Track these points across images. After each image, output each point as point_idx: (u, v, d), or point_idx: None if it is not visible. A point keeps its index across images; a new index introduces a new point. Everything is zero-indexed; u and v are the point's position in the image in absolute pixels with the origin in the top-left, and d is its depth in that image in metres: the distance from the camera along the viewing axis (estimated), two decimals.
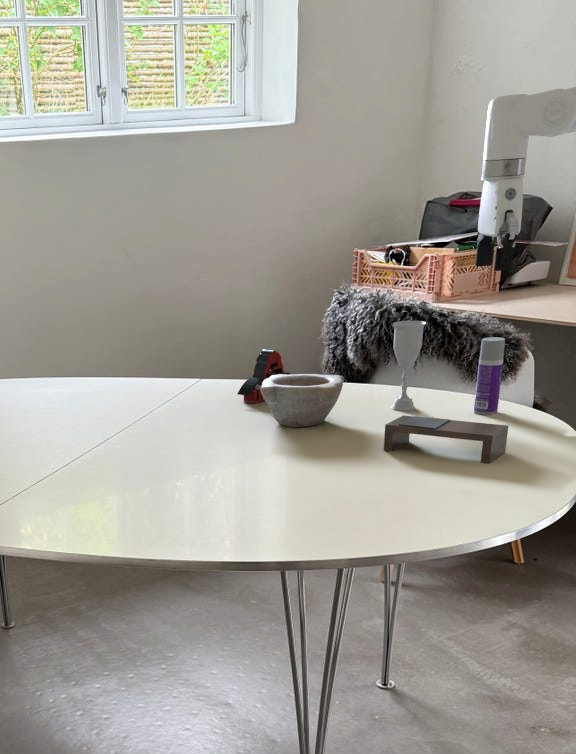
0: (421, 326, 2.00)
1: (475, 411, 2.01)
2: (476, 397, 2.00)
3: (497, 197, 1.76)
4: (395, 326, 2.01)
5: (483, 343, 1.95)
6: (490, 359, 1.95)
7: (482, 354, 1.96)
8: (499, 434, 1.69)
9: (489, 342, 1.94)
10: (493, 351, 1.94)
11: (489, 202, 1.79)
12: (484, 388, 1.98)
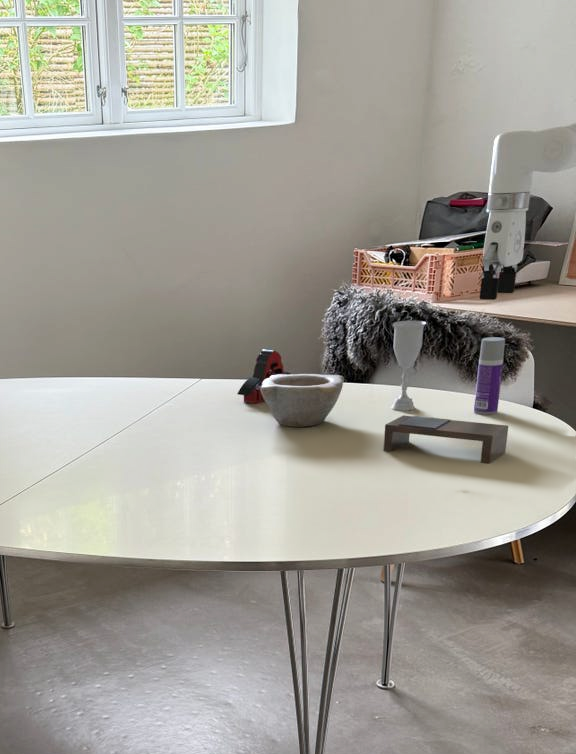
0: (421, 326, 2.00)
1: (475, 411, 2.01)
2: (476, 397, 2.00)
3: None
4: (395, 326, 2.01)
5: (483, 343, 1.95)
6: (490, 359, 1.95)
7: (482, 354, 1.96)
8: (499, 434, 1.69)
9: (489, 342, 1.94)
10: (493, 351, 1.94)
11: None
12: (484, 388, 1.98)
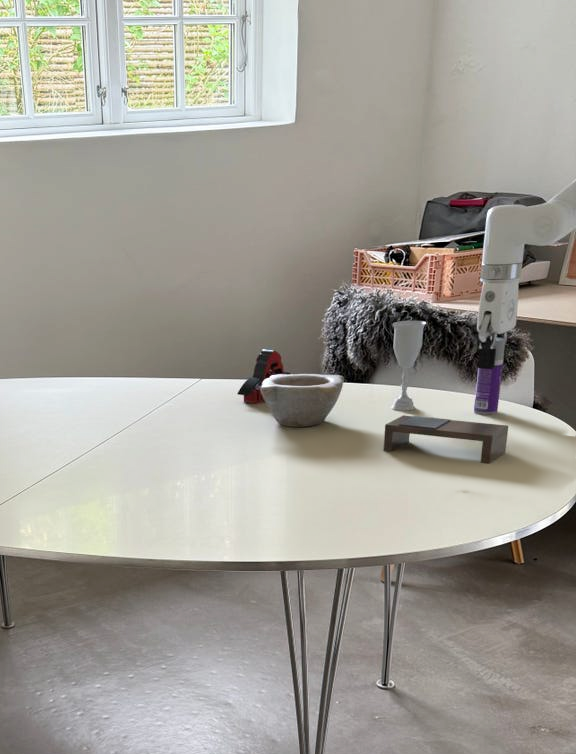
0: (421, 326, 2.00)
1: (475, 411, 2.01)
2: (476, 397, 2.00)
3: (480, 298, 1.90)
4: (395, 326, 2.01)
5: None
6: None
7: None
8: (499, 434, 1.69)
9: None
10: None
11: None
12: (484, 388, 1.98)
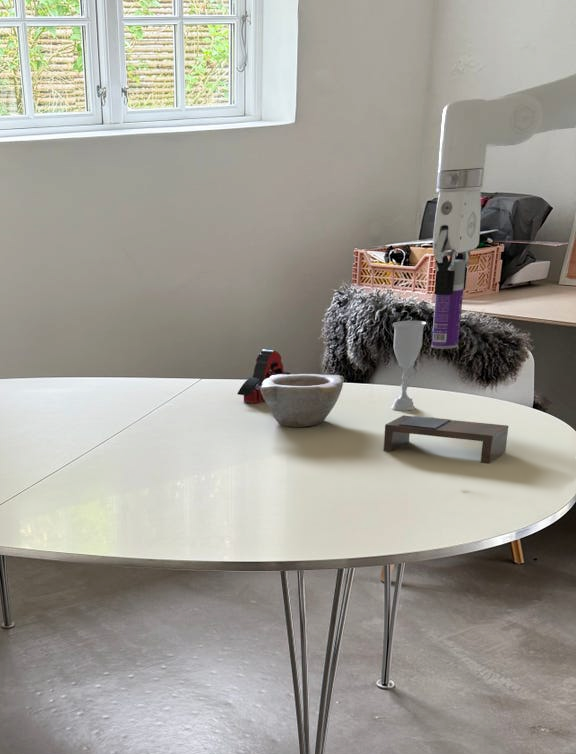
0: (421, 326, 2.00)
1: (432, 345, 1.76)
2: (433, 329, 1.75)
3: (436, 211, 1.65)
4: (395, 326, 2.01)
5: None
6: None
7: None
8: (499, 434, 1.69)
9: None
10: None
11: None
12: (441, 318, 1.73)
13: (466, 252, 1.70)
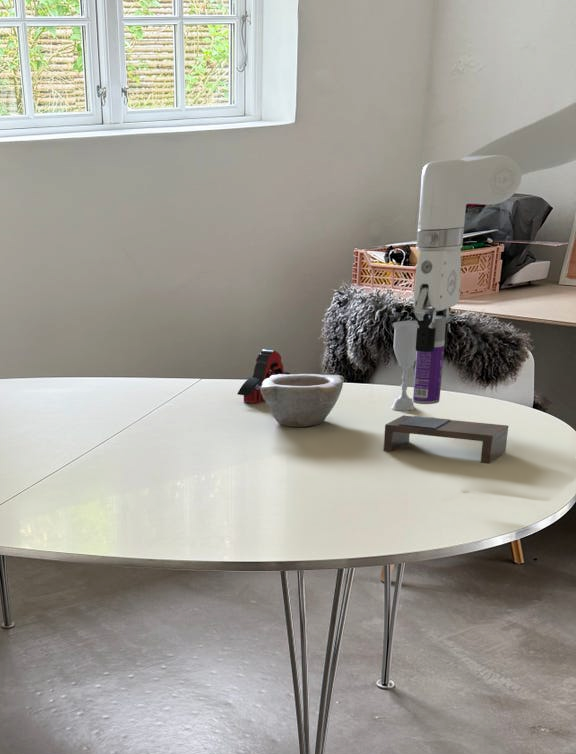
0: None
1: (414, 400, 1.76)
2: (415, 384, 1.75)
3: (416, 269, 1.64)
4: (395, 326, 2.01)
5: None
6: None
7: None
8: (499, 434, 1.69)
9: None
10: None
11: None
12: (423, 374, 1.72)
13: (447, 308, 1.70)
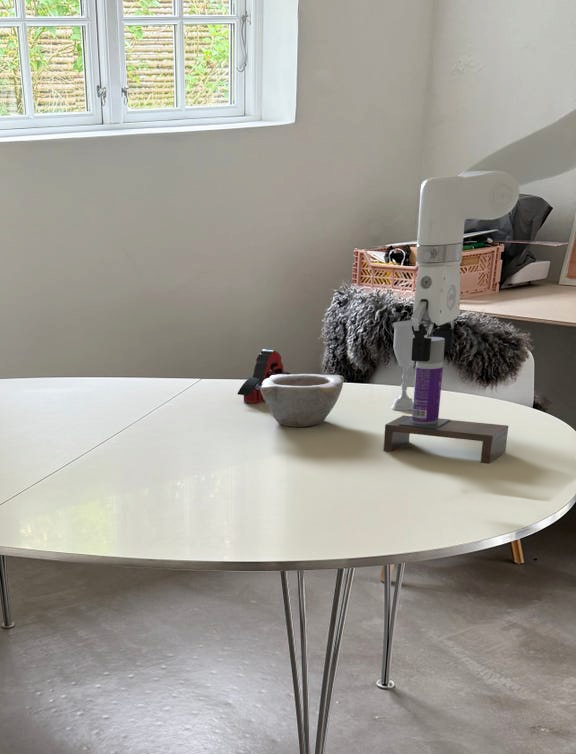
0: None
1: (413, 421, 1.77)
2: (414, 405, 1.76)
3: (416, 284, 1.65)
4: (395, 326, 2.01)
5: None
6: (428, 362, 1.71)
7: None
8: (499, 434, 1.69)
9: None
10: (431, 353, 1.70)
11: None
12: (421, 394, 1.74)
13: None
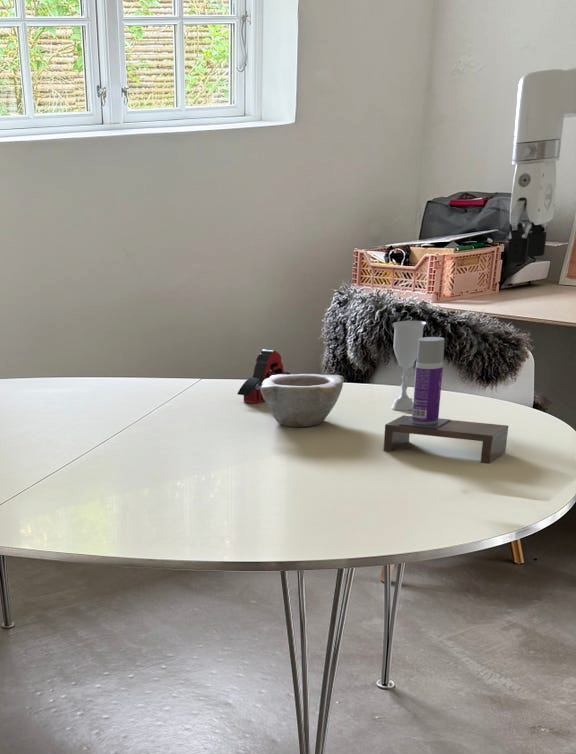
0: (421, 326, 2.00)
1: (413, 421, 1.77)
2: (414, 405, 1.76)
3: (513, 183, 1.64)
4: (395, 326, 2.01)
5: (420, 343, 1.71)
6: (428, 362, 1.71)
7: (419, 356, 1.72)
8: (499, 434, 1.69)
9: (426, 342, 1.70)
10: (430, 353, 1.70)
11: None
12: (421, 394, 1.74)
13: None
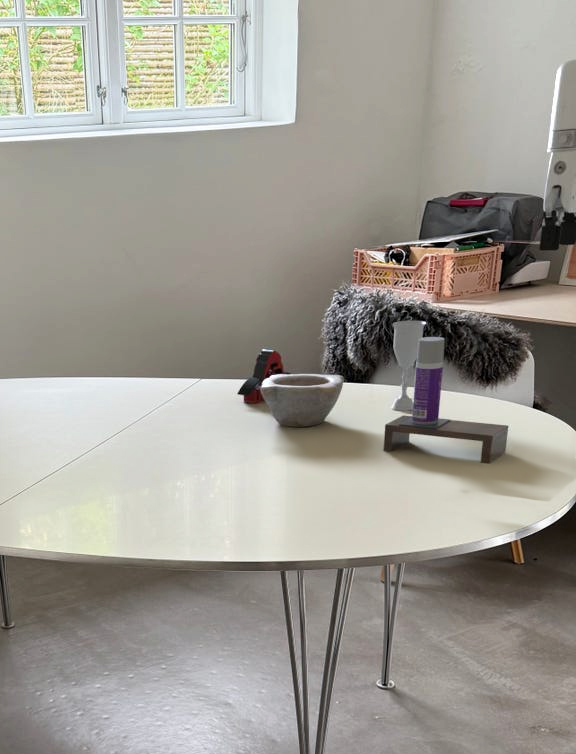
0: (421, 326, 2.00)
1: (413, 421, 1.77)
2: (414, 405, 1.76)
3: (548, 171, 1.66)
4: (395, 326, 2.01)
5: (420, 343, 1.71)
6: (428, 362, 1.71)
7: (419, 356, 1.72)
8: (499, 434, 1.69)
9: (426, 342, 1.70)
10: (430, 353, 1.70)
11: None
12: (421, 394, 1.74)
13: None
